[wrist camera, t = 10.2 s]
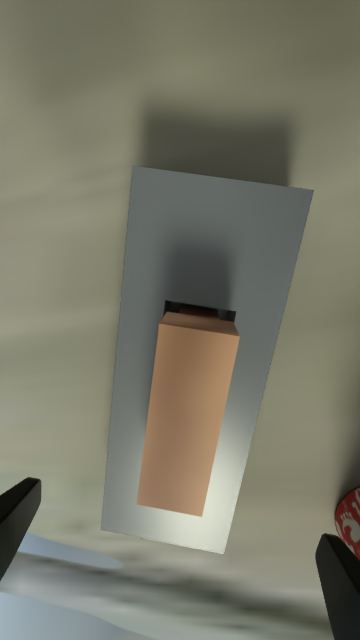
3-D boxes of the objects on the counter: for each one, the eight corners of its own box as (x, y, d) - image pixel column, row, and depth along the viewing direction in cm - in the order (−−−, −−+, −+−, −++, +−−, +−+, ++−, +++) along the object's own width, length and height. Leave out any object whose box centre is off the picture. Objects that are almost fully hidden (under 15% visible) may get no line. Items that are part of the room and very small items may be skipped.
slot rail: (288, 204, 17) (313, 190, 13) (219, 503, 23) (223, 554, 19) (148, 185, 17) (132, 165, 13) (117, 483, 23) (100, 529, 19)
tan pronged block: (226, 307, 18) (239, 336, 11) (202, 434, 20) (202, 517, 14) (174, 298, 18) (159, 323, 11) (156, 426, 20) (136, 504, 14)
